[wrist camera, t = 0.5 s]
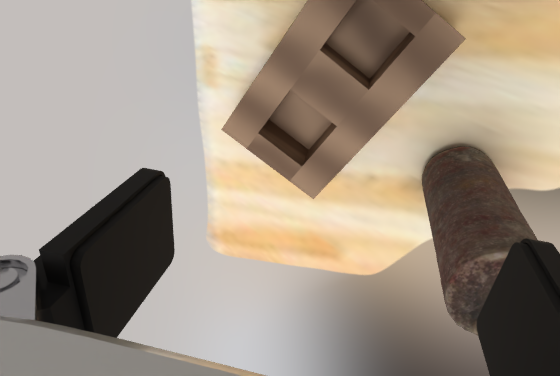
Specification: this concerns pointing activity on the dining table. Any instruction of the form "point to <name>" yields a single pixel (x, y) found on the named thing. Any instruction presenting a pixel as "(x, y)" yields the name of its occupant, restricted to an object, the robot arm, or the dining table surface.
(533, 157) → the dining table surface
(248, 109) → the hole block
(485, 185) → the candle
